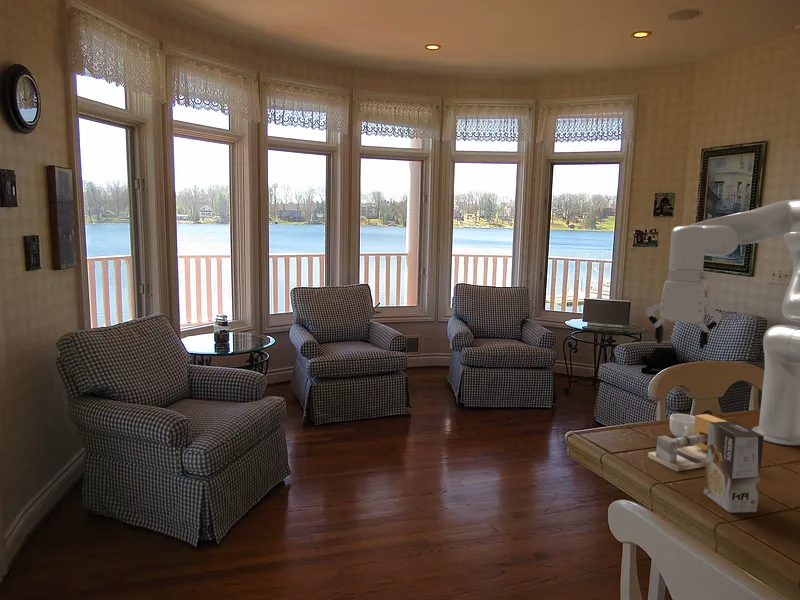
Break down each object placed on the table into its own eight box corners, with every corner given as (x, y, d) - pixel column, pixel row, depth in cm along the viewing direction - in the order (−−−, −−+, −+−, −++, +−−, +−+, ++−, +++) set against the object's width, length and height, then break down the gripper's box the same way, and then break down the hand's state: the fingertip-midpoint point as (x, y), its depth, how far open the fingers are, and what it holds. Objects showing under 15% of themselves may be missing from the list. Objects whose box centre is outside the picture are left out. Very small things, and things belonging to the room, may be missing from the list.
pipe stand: (707, 447, 150) (709, 425, 149) (738, 460, 142) (740, 436, 141) (647, 457, 143) (649, 433, 142) (676, 471, 135) (678, 446, 134)
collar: (704, 442, 147) (706, 413, 146) (724, 450, 142) (727, 421, 141) (692, 444, 146) (695, 415, 145) (712, 452, 140) (715, 422, 139)
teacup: (667, 430, 163) (669, 412, 162) (697, 434, 160) (699, 416, 160) (669, 442, 154) (671, 422, 153) (701, 446, 151) (703, 427, 150)
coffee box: (758, 512, 115) (766, 436, 113) (728, 513, 115) (736, 436, 113) (729, 492, 124) (735, 420, 122) (701, 492, 124) (707, 421, 122)
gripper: (727, 277, 138) (721, 346, 141) (651, 273, 148) (647, 338, 151) (723, 279, 132) (717, 352, 135) (644, 275, 142) (640, 343, 145)
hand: (680, 344), depth 143 cm, fingers open, 9 cm apart
